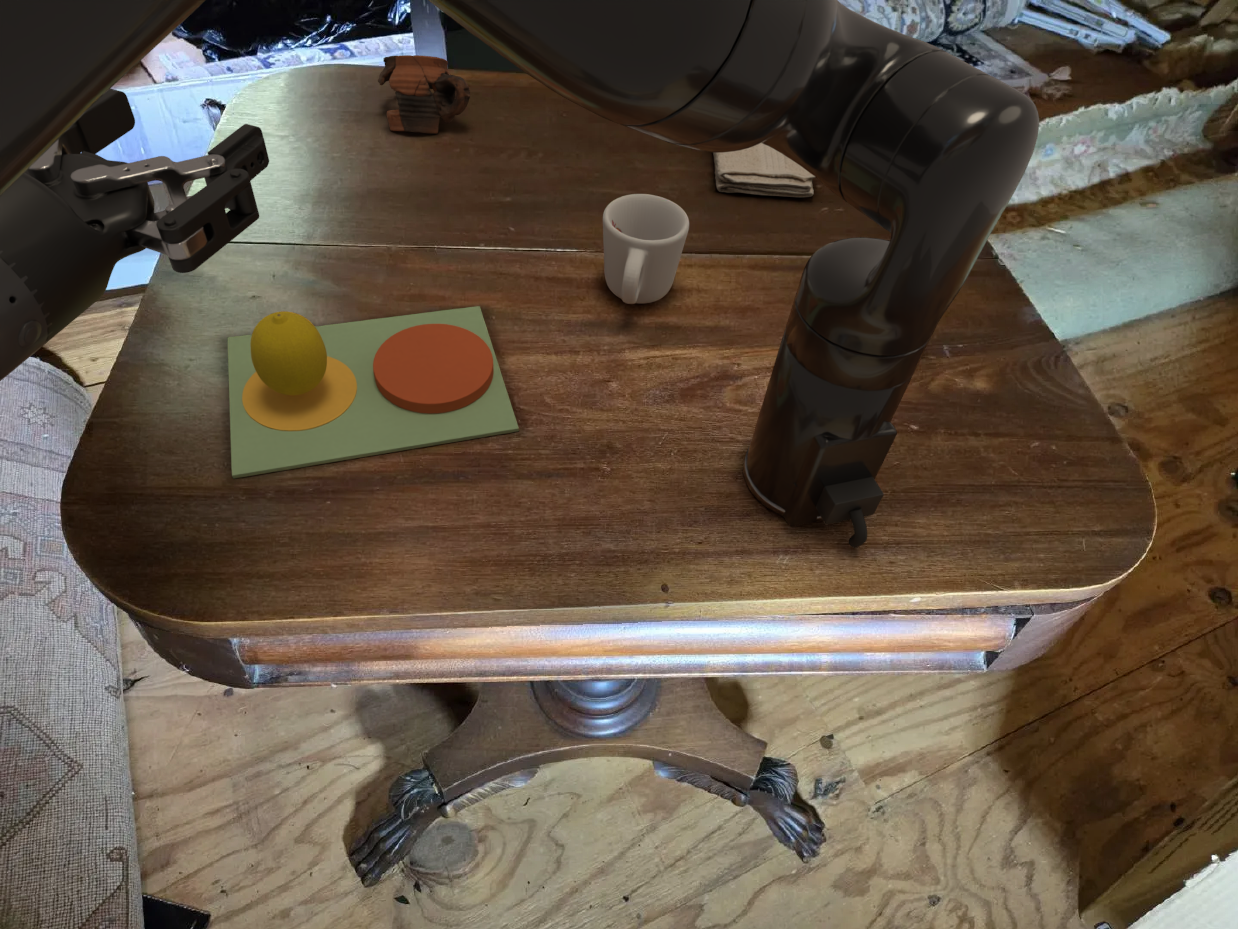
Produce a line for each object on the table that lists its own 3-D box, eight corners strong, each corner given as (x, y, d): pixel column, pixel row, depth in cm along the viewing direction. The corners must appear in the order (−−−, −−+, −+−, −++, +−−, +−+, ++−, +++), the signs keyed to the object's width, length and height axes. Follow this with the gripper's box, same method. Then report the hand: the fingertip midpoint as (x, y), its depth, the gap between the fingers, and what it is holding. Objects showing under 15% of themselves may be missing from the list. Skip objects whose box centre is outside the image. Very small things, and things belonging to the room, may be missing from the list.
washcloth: (715, 196, 96) (719, 171, 93) (703, 118, 108) (707, 94, 105) (818, 203, 97) (825, 179, 94) (795, 125, 108) (801, 101, 106)
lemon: (343, 403, 70) (326, 327, 64) (273, 423, 67) (249, 347, 61) (323, 361, 73) (305, 285, 66) (256, 379, 70) (231, 302, 64)
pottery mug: (364, 132, 99) (358, 53, 96) (412, 136, 107) (408, 64, 105) (452, 132, 95) (449, 50, 92) (495, 136, 103) (493, 61, 101)
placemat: (518, 431, 70) (518, 418, 69) (232, 478, 64) (227, 465, 63) (479, 309, 80) (479, 295, 78) (228, 340, 74) (223, 326, 73)
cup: (665, 339, 79) (677, 268, 73) (582, 322, 80) (587, 250, 74) (683, 271, 86) (695, 201, 80) (606, 256, 87) (612, 186, 81)
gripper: (66, 257, 34) (291, 85, 44) (-228, 171, 35) (54, 26, 46) (132, 392, 39) (317, 212, 50) (-126, 312, 41) (105, 155, 52)
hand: (191, 123), depth 48 cm, fingers open, 8 cm apart
